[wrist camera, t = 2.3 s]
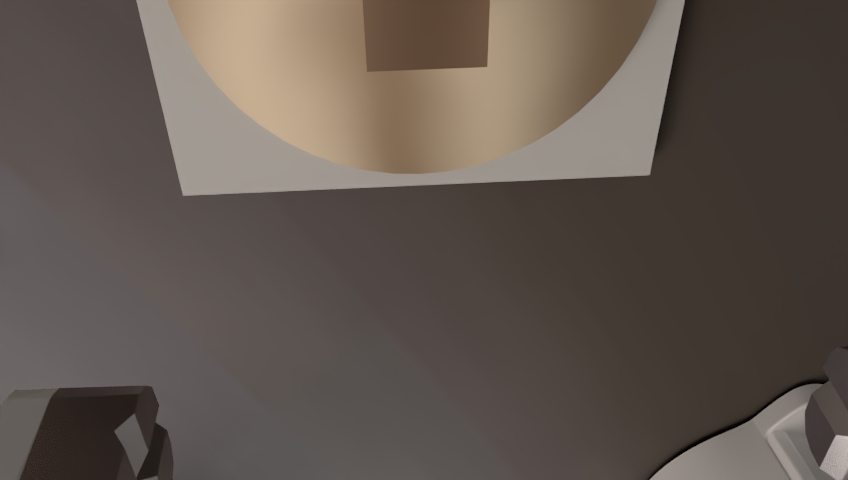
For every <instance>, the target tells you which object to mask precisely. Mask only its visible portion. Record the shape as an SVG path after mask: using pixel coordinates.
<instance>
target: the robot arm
mask: <svg viewBox="0 0 848 480" xmlns="http://www.w3.org/2000/svg"><path fill="white" fill-rule="evenodd" d="M823 370H824V371H825V373H826V375H827V377H828V378H829V381H828V382H826V383H825V384H808V385H804V386H801V387H798V388H796V389H794V390H792V391H790V392H788V393H786V394H785V395H783V396H782V397H780V398H779V399H777V400H776V401H775V402H773V403H772V404H771V405H769V406H768V407H767V408H765V409H764V410H763V411H762V412H760V413H759V414H758V415H757V416H755V417H754V418H753V419H752V420H750V421H748V422H746V423H744V424H742V425H740V426H738V427H736V428H734V429H732V430H729V431H727V432H725V433H722V434H720V435H718V436H715V437H713V438H711V439H709V440H707V441H705V442H703V443H700V444H699V445H697V446H695V447H693V448H691V449H689V450H688V451H686V452H684V453H683V454H681V455H680V456H678V457H677V458H675V459H674V460H672V461H671V462H669V463H668V464H667V465H666V466H664V467H663V468H662V469H661V470H659V471H658V472H657V473H656V474H655V475H654V476H653V477H652V478H651V479H650V480H848V346H846V347H839V348H837V349H836V350H835V351H833V352H832V353H831V354H830V355H829V357H828V359H827V361H826V363H825V365H824V367H823ZM158 408H159V404H158V402H157V399H156V396H155V394H154V391H153V388H152V387H150V386H119V387H85V388H59V389H39V390H14V391H13V392H12V393H11V394H10V395H9V397H8V398H7V399H6V400H5V401H4V402H3V403H2V406H1V408H0V480H172V478H173V456H172V448H171V442H170V439H169V436H168V432H167V430H166V429H164V428H163V427H161V426H160V425H158V424H157V423H155V421H156V416H157V412H158Z"/></svg>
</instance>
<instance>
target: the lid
mask: <svg viewBox="0 0 848 480" xmlns="http://www.w3.org/2000/svg"><path fill="white" fill-rule="evenodd" d="M167 1H168V4H169V6H170V8H171V11H172V13H173V15H174V18H175V20H176V22H177V25H178V27H179V29H180V32H181V33H182V35H183V37H184V38H185V40H186V42H187V44H188V45H189V47H190V49H191V50H192V52H193V54H194V56H195V57H196V59H197V60H198V62H199V63H200V64H201V66H202V67H203V68H204V70H205V71H206V72H207V74H208V75H209V76H210V78H211V79H212V80H213V82H214V83H215V84H216V85H217V86H218V87H219V88H220V89H221V90H222V91H223V93H224V94H225V95H226V96H227V97H228V98H229V99H230V100H231V101H232V102H233V103H234V104H235V105H236V106H237V107H238V108H239V109H241V110H242V111H243V112H244V113H246V114H247V115H248V116H249V117H250V118H252V119H253V120H254V121H255V122H257V123H258V124H259V125H260V126H262V127H263V128H265V129H266V130H268V131H270V132H271V133H273V134H274V135H276V136H277V137H279V138H280V139H282V140H284V141H285V142H287V143H289V144H291V145H293V146H295V147H297V148H299V149H301V150H304V151H306V152H308V153H310V154H312V155H315V156H318V157H320V158H323V159H326V160H329V161H332V162H334V163H337V164H341V165H345V166H349V167H354V168H358V169H362V170H367V171H376V172H384V173H392V174H426V173H436V172H446V171H453V170H457V169H462V168H467V167H471V166H476V165H479V164H482V163H486V162H489V161H492V160H495V159H498V158H501V157H504V156H506V155H508V154H510V153H513V152H515V151H517V150H519V149H521V148H524V147H526V146H528V145H530V144H532V143H534V142H535V141H537V140H539V139H540V138H542V137H544V136H545V135H547V134H549V133H550V132H552V131H554V130H555V129H557V128H558V127H559V126H561V125H562V124H563V123H565V122H566V121H567V120H569V119H570V118H571V117H573V116H574V115H575V114H577V113H578V112H579V111H580V110H581V109H582V108H583V107H584V106H585V105H586V104H588V103H589V102H590V101H591V100H592V99H593V98H594V97H595V96H596V95H597V94H598V93H599V92H600V91H601V90H602V89H603V88H604V86H605V85H606V84H607V83H608V82H609V81H610V79H611V78H612V77H613V76H614V75H615V73H616V72H617V71H618V70H619V69H620V67H621V66H622V64H623V63H624V61H625V60H626V58H627V57H628V55H629V54H630V52H631V51H632V49H633V48H634V46H635V45H636V43H637V42H638V40H639V38H640V36H641V34H642V32H643V30H644V28H645V26H646V24H647V22H648V20H649V18H650V17H651V15H652V12H653V10H654V7H655V4H656V1H657V0H167Z"/></svg>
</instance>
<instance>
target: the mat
mask: <svg viewBox="0 0 848 480" xmlns="http://www.w3.org/2000/svg"><path fill="white" fill-rule="evenodd" d="M136 1H137V5H138V9H139V13H140V17H141V22H142V26H143V30H144V34H145V38H146V42H147V47H148V51H149V55H150V59H151V63H152V68H153V72H154V76H155V80H156V84H157V89H158V93H159V97H160V101H161V105H162V109H163V114H164V118H165V122H166V126H167V130H168V135H169V139H170V143H171V147H172V151H173V156H174V160H175V164H176V168H177V172H178V176H179V181H180V185H181V189H182V193H183V196H187V195H210V194H233V193H255V192H278V191H301V190H324V189H346V188H369V187H392V186H414V185H437V184H460V183H483V182H505V181H528V180H551V179H573V178H596V177H619V176H642V175H650V170H651V165H652V160H653V156H654V151H655V146H656V141H657V136H658V131H659V126H660V121H661V116H662V111H663V106H664V101H665V96H666V91H667V86H668V81H669V76H670V71H671V66H672V61H673V56H674V51H675V46H676V42H677V37H678V32H679V27H680V22H681V17H682V12H683V7H684V2H685V0H657V1H656V4H655V7H654V10H653V12H652V15H651V17H650V18H649V20H648V22H647V24H646V26H645V28H644V30H643V32H642V34H641V36H640V38H639V40H638V42H637V43H636V45H635V46H634V48H633V49H632V51H631V52H630V54H629V55H628V57H627V58H626V60H625V61H624V63H623V64H622V66H621V67H620V69H619V70H618V71H617V72H616V73H615V75H614V76H613V77H612V78H611V79H610V81H609V82H608V83H607V84H606V85H605V86H604V88H603V89H602V90H601V91H600V92H599V93H598V94H597V95H596V96H595V97H594V98H593V99H592V100H591V101H590V102H589V103H588V104H586V105H585V106H584V107H583V108H582V109H581V110H580V111H579V112H578V113H577V114H575V115H574V116H573V117H571V118H570V119H569V120H567V121H566V122H565V123H563V124H562V125H561V126H559V127H558V128H557V129H555V130H554V131H552V132H550V133H549V134H547V135H545V136H544V137H542V138H540V139H539V140H537V141H535V142H534V143H532V144H530V145H528V146H526V147H524V148H521V149H519V150H517V151H515V152H513V153H510V154H508V155H506V156H504V157H501V158H498V159H495V160H492V161H489V162H486V163H482V164H479V165H476V166H471V167H467V168H462V169H457V170H453V171H446V172H436V173H426V174H392V173H384V172H376V171H367V170H362V169H358V168H354V167H349V166H345V165H341V164H337V163H334V162H332V161H329V160H326V159H323V158H320V157H318V156H315V155H312V154H310V153H308V152H306V151H304V150H301V149H299V148H297V147H295V146H293V145H291V144H289V143H287V142H285V141H284V140H282V139H280V138H279V137H277V136H276V135H274V134H273V133H271V132H270V131H268V130H266V129H265V128H263V127H262V126H260V125H259V124H258V123H257V122H255V121H254V120H253V119H252V118H250V117H249V116H248V115H247V114H246V113H244V112H243V111H242V110H241V109H239V108H238V107H237V106H236V105H235V104H234V103H233V102H232V101H231V100H230V99H229V98H228V97H227V96H226V95H225V94H224V93H223V91H222V90H221V89H220V88H219V87H218V86H217V85H216V84H215V83H214V82H213V80H212V79H211V78H210V76H209V75H208V74H207V72H206V71H205V70H204V68H203V67H202V66H201V64H200V63H199V62H198V60H197V59H196V57H195V56H194V54H193V52H192V50H191V49H190V47H189V45H188V44H187V42H186V40H185V38H184V37H183V35H182V33H181V32H180V29H179V27H178V25H177V22H176V20H175V18H174V15H173V13H172V11H171V8H170V6H169V4H168V1H167V0H136Z"/></svg>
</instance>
